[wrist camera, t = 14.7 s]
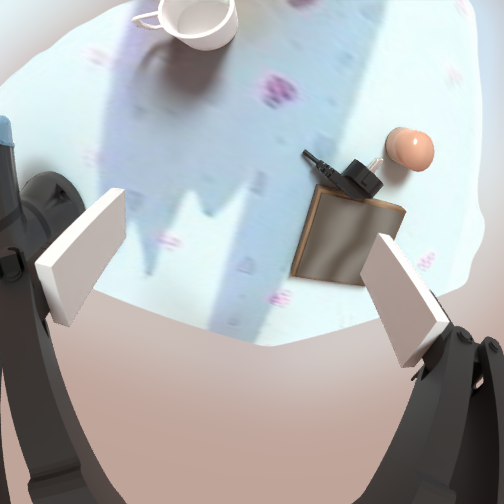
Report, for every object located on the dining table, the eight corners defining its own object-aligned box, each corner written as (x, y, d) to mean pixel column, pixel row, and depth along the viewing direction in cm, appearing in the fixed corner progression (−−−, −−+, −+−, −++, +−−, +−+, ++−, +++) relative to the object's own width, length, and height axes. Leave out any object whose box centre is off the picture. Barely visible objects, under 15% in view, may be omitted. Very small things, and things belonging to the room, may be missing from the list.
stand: (290, 269, 50) (292, 277, 48) (316, 184, 42) (319, 189, 40) (368, 280, 52) (372, 288, 50) (401, 206, 44) (407, 212, 42)
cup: (153, 10, 27) (126, -8, 18) (237, -1, 27) (233, -26, 18) (154, 58, 31) (126, 50, 23) (238, 48, 31) (234, 34, 23)
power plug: (299, 155, 36) (365, 212, 37) (334, 114, 34) (399, 173, 34) (300, 155, 42) (358, 205, 42) (330, 119, 39) (388, 170, 39)
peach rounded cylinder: (407, 169, 40) (424, 178, 35) (380, 153, 38) (397, 161, 34) (421, 137, 37) (439, 143, 33) (394, 120, 36) (412, 124, 31)
